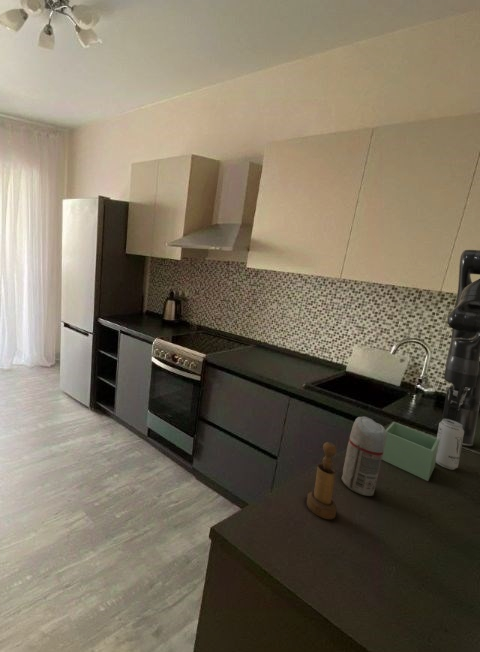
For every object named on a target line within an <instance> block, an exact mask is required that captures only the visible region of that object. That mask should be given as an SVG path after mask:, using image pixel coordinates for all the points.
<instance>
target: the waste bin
mask: <svg viewBox="0 0 480 652" xmlns="http://www.w3.org/2000/svg"><path fill="white" fill-rule="evenodd" d="M385 431H386V440H385V446H384V452H383V456H382V460H381V461H383V462H385V463H388V464H390V465H392V466H394V467H396V468H399V469H401V470H403V471H405V472H407V473H409V474H412V475H413V476H416V477H418V478H420V479H422V480H424V481H426V482H429V480H430V478H431V476H432V474H433V471H434V469H435V467H436V456H437V451H438V445H439V439H437V437H434V436H431V435H429V434H426V433H423V432H421V431H419V430H416V429H413V428H411V427H408V426H405V425H403V424H400V423H398V422H395V421H392V422H391V423H390V424H389V426H388V427H387V428H385Z"/></svg>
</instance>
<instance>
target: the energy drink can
mask: <svg viewBox="0 0 480 652" xmlns="http://www.w3.org/2000/svg"><path fill="white" fill-rule="evenodd" d="M463 436H464V430H463V428H462V425H461V424H460V423H458V422H456V421H453V420H449V419H442V418H441V421H440V422H439V423H438V430H437V434H436V438H437V439H439V445H438V451H437V456H436V462H435V464H437V465H439V466H441V467H442V468H445V469H448V470H456V469H457V468H459V463H460V459H461V458H460V457H461V452H462V441H463Z"/></svg>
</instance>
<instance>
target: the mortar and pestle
mask: <svg viewBox="0 0 480 652" xmlns="http://www.w3.org/2000/svg"><path fill="white" fill-rule="evenodd" d="M322 450H323V452H324V455H325V456H324V457H323V458H322V463H319V464H317V468H316V474H315V475H316V476H315V483H314V490H313V491H310V492H308V493H307V499H306V506H307V507H308V509H309V511H310V512H312V513H313V514H315V515H316V516H318V517H319V518H322V519H325V520H333V519H335V518H336V515H337V514H336V513H337V505H336V503H335V502H334V500H333V491H334V485H335V478H336V471H335V469H334V468H332V466H333V464H334V461H333V457H334V456H335V455H336V454H337V452H338V449H337V446H336V445H335V444H334V443H332V442H329V441H326V442H324V443H323V445H322Z"/></svg>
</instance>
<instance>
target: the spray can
mask: <svg viewBox="0 0 480 652" xmlns="http://www.w3.org/2000/svg"><path fill="white" fill-rule="evenodd" d="M385 430H386V428H385V426H383V425H382V424H381V423H378V422H376V421H375V420H374V419H372V418H370V417H367V416H358V417H356V418H355V420H354V422H353V424H352V427H351V432H350V435H349V438H348V443H347V447H346V451H345V452H346V453H345V458H344V462H343V463H344V464H343V468H342V475H341V479H340V480H341V481H342V482H343V484H344V485H345V486H346V487H347V488H348V489H349V490H351V491H352V492H355V493H356V494H359V495H361V496H367V497H373V496H374V495H375V490H376V486H377V483H378V477H379V474H380V468H381V466H382V461H383V460H382V456H383V452H384V446H385V440H386V431H385Z"/></svg>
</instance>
